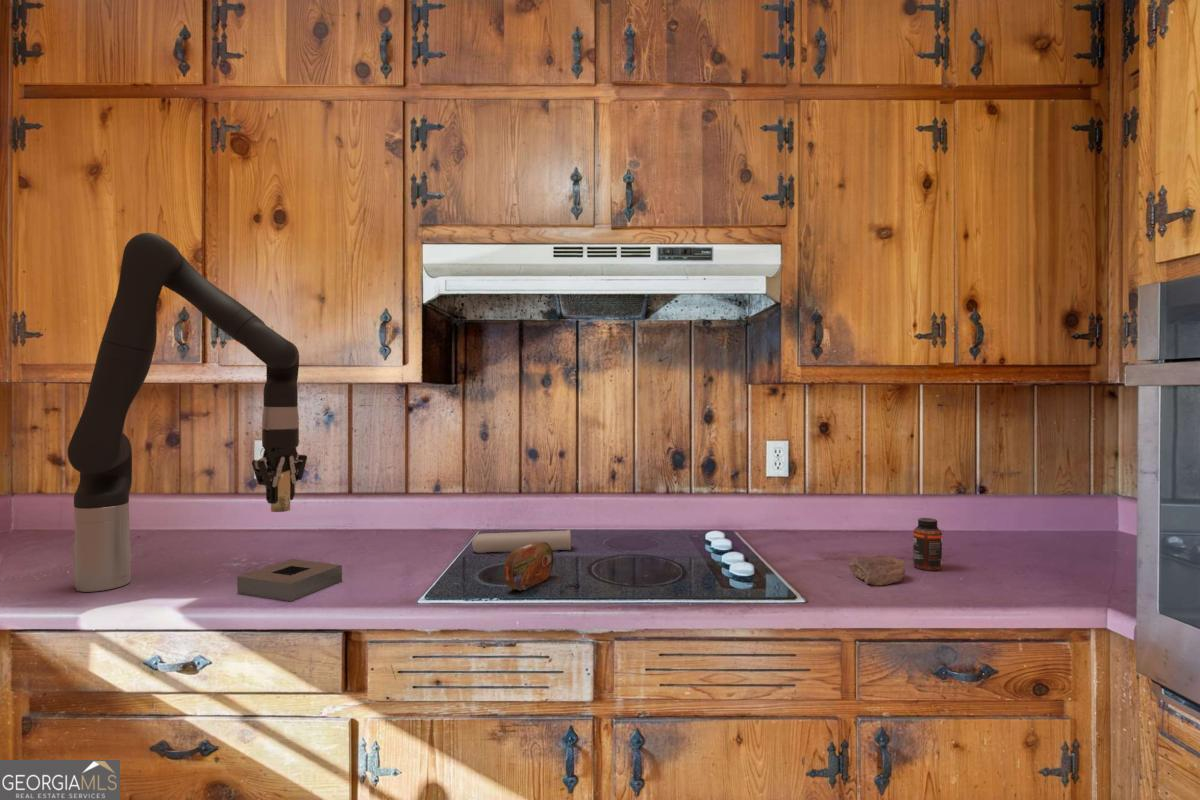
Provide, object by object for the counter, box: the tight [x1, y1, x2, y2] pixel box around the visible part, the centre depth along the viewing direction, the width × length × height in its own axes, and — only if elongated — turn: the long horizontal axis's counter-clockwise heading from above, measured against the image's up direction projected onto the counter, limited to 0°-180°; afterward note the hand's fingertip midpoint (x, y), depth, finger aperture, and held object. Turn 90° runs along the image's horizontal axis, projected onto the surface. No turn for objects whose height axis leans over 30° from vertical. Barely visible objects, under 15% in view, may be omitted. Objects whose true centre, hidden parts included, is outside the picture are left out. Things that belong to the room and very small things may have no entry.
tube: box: [471, 529, 572, 554], centre depth 166 cm, size 5×5×25 cm
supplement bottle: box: [912, 517, 943, 572], centre depth 150 cm, size 6×6×11 cm
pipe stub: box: [270, 470, 291, 513], centre depth 149 cm, size 4×4×9 cm
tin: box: [503, 542, 554, 592], centre depth 138 cm, size 15×3×8 cm, turn 151°
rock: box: [848, 555, 906, 587], centre depth 142 cm, size 12×10×5 cm
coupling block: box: [236, 558, 343, 602], centre depth 136 cm, size 14×14×4 cm
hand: (280, 501), depth 149 cm, fingers closed on pipe stub, 4 cm apart
